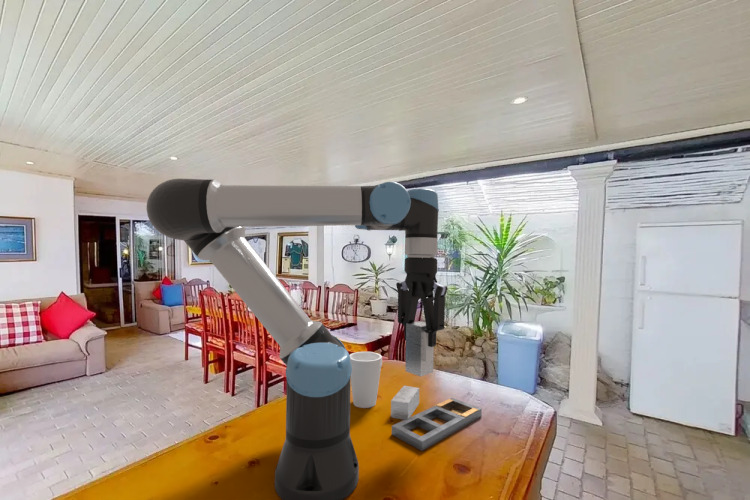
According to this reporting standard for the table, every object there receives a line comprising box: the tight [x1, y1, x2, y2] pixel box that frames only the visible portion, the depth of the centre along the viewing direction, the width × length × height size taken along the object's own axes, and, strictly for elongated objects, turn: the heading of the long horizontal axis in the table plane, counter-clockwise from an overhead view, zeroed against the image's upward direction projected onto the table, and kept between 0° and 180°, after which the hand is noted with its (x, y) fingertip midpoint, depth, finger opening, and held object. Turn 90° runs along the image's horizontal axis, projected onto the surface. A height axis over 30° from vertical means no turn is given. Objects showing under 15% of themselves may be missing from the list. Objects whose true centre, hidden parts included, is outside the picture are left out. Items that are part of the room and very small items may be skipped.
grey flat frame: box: [391, 397, 482, 452], centre depth 84 cm, size 24×9×2 cm, turn 133°
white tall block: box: [405, 320, 434, 377], centre depth 79 cm, size 4×4×11 cm
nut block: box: [390, 385, 420, 421], centre depth 92 cm, size 11×4×4 cm, turn 158°
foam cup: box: [349, 351, 383, 409], centre depth 96 cm, size 10×9×13 cm
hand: (419, 357), depth 79 cm, fingers closed on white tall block, 4 cm apart
